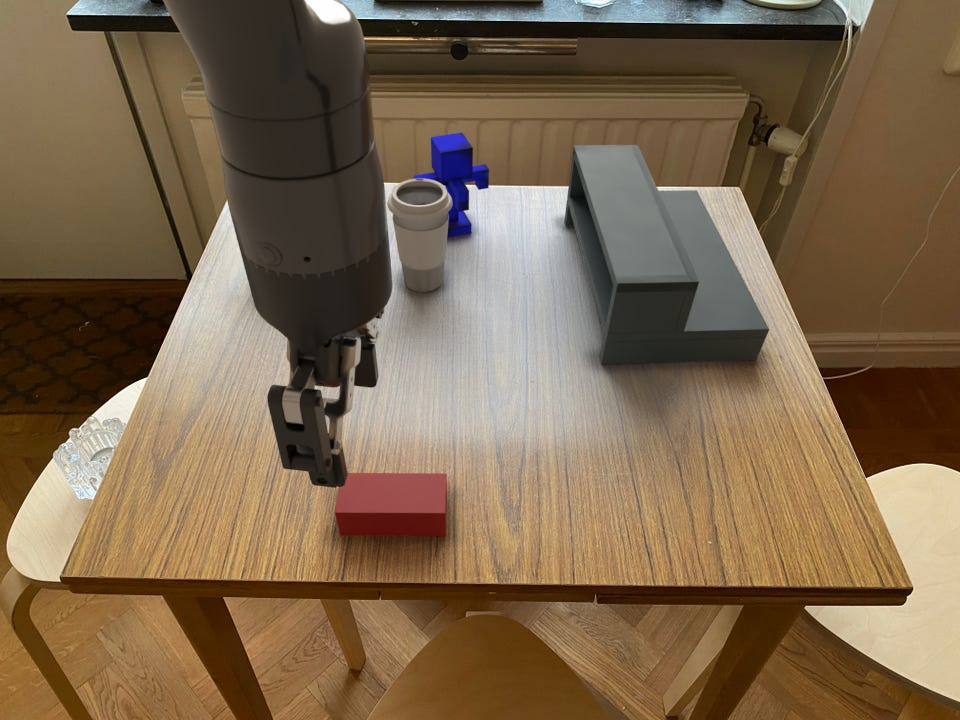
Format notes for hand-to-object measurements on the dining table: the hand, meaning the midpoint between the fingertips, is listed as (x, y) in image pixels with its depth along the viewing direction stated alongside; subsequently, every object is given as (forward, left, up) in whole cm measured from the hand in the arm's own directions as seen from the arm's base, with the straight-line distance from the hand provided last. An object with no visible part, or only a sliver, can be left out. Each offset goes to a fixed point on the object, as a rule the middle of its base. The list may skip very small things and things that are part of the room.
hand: (347, 428), depth 47 cm
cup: (+25, -27, -16) cm, 40 cm away
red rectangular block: (+1, -4, -16) cm, 17 cm away
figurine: (+31, -37, -17) cm, 51 cm away
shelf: (+6, -47, -16) cm, 50 cm away
